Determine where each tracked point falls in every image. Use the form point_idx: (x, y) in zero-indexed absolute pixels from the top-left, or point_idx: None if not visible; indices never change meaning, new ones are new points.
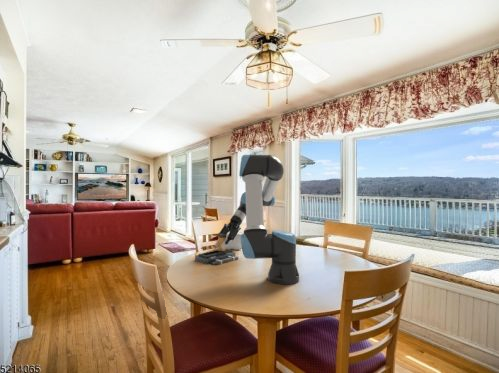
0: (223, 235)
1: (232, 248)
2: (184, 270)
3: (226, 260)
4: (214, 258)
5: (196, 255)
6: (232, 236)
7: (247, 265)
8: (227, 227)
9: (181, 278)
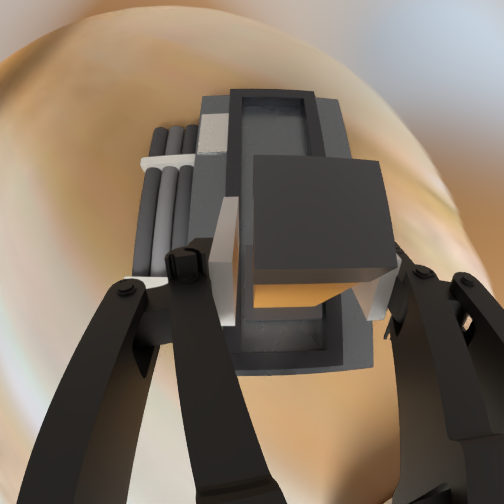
0: (254, 187)
1: (391, 498)
2: (222, 37)
3: (140, 209)
4: (198, 140)
5: (333, 102)
6: (102, 316)
7: (25, 264)
8: (477, 472)
9: (165, 18)
